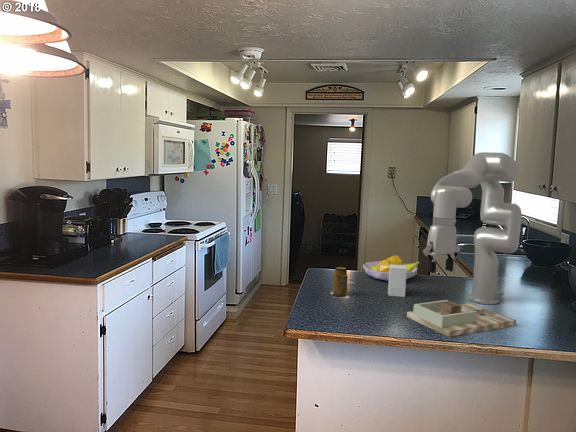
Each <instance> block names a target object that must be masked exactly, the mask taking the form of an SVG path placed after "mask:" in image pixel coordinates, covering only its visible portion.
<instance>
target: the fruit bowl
mask: <svg viewBox="0 0 576 432" xmlns="http://www.w3.org/2000/svg"><path fill="white" fill-rule="evenodd" d="M390 265H406V268H407V273H406V280H408V279H410V278H412V277H415V275H416V272H417V270H418V267H417V266H418V265H420V261H419V260H417V261H416V262H413V263H404V262H403V260H402V259H401V257H400V256H399V255H395V254H393V255H392V256H390V257H388V258H386V259H383V260H378V261H368V262H366V263H364V264H363V265H362V267H363V270H364V271H365V273H366V274H367V275H369V276H370V277H372V278H374V279H375V280H376V279H377V280H380V281H384V282H385V281H386V282H389V267H390Z"/></svg>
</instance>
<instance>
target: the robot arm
mask: <svg viewBox="0 0 576 432" xmlns="http://www.w3.org/2000/svg"><path fill="white" fill-rule="evenodd" d="M519 175H520V166H519V163H518V162H517V160H515V159H514V158H513V157H511V156H510V155H509V154H506V153H504V152H477V153H475V154H473V156H472V157H471V158H470V159H469V160H468V161H467V163H466V164H465V165H464V166H463V167H462V168H461V169H459V170H457V171H454V172H452V173H450V174H447V175H445V176H443V177H441V178H440V179H439V180H438V181H437V182H436V183H435V185H434V186H433V188H432V190H431V192H430V200H431V202H432V203H433V214H432V215H433V216H432V225H430V227H429V231H428V236H427V241H426V247H424V249H423V250H422V253H423V255H424V256H425V258H426V261H428V269H427V271H428V273H431V274H436V271H437V262H436V259H437V257H438V256H440V255H441V256H443V255H446V258H445V270H446V271H448V272H454V265H455V264H454V262H455V260H456V258H457V256H458V255H459V253H460V251H461V247H460V246H459V245H458V244H457V228H456V226H455V225H456V223H457V219H456V215H457V214H456V213H457V208H460V209H461V208H467V207H468V206H470V204H471V203H472V200H473V193H472V191H471V190H470V189H472V188H476V187H478V186H479V185H480V186H481V191H482V192H481V201H480V202H481V203H480V210H479V211H480V213H479V214H480V221H481V222H482V223H483V224H487V225H495V226H502V227H506V229H505V228H503V229H502V228H498V227H488V226H484V227H479V228H477V229H476V230H475V231H474V234H473V243H474V265H473V279H472V290H471V291H472V292H471V294H469V295H467V299H468V300H469V301H471V302H473V303H477V304H481V305H497V304H499V303H500V298H498V297H499V296H503V295H504V294H505V293H504V291H503V290H502V289H501V290H497V288H498V287H497V286H498V274H499V262H500V261H499V258H498V256H497V254H496V253H495V252H497V253H498V252H499V253H506V254H507V253H508V254H513V253H516V251H518V248H519V244H520V237H521V226H522V218H523V217H522V216H523V214H522V208H521V207H520V205H518V204H515V203H511V202H504V200H505V199H504V198H505V190H504V187H503V185H502V183H501V182H505V183H511V182H512V183H513V182H514V181H516V180H517V179H518V178H519Z"/></svg>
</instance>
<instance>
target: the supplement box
mask: <svg viewBox="0 0 576 432" xmlns="http://www.w3.org/2000/svg"><path fill="white" fill-rule="evenodd" d="M406 273H407V268H406V265H390V267H389V281H388V286H387V287H388V288H387V295H388V297H389V296H390V297H402V298H404V297H406V286H407V279H406Z"/></svg>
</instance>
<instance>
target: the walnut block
mask: <svg viewBox="0 0 576 432" xmlns="http://www.w3.org/2000/svg"><path fill="white" fill-rule="evenodd" d="M461 307H462V306H461V304H459V303H457V302H453V301H449V302H446V303H441V315H449V314H456V313H461Z"/></svg>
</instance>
